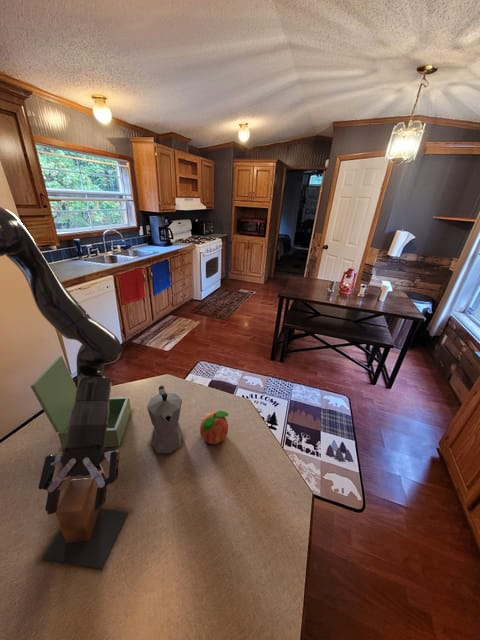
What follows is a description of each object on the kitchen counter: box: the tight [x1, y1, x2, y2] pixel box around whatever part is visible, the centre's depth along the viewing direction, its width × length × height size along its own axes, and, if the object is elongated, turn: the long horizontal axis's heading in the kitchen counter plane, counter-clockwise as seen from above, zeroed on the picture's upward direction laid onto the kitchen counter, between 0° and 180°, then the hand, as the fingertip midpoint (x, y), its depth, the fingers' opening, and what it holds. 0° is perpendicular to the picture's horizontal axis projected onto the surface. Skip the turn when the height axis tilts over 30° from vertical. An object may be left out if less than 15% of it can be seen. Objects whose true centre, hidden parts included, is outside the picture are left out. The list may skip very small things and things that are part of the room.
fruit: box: [199, 410, 229, 445], centre depth 77 cm, size 9×10×10 cm
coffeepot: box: [146, 385, 183, 454], centre depth 73 cm, size 15×9×18 cm, turn 23°
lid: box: [30, 355, 77, 433], centre depth 71 cm, size 16×14×1 cm
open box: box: [57, 396, 132, 451], centre depth 77 cm, size 15×14×7 cm
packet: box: [55, 477, 100, 543], centre depth 52 cm, size 4×6×10 cm
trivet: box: [41, 507, 129, 571], centre depth 53 cm, size 12×10×1 cm
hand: (75, 510), depth 50 cm, fingers open, 8 cm apart
